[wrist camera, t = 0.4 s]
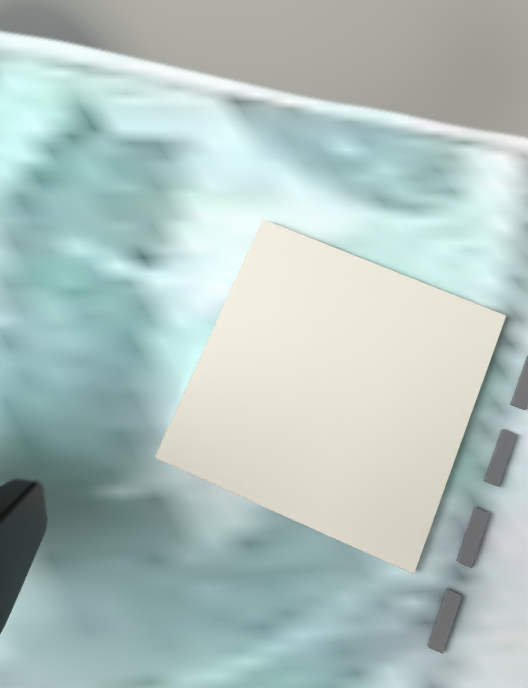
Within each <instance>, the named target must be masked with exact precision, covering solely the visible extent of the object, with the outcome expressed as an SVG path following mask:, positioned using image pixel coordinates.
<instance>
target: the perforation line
mask: <svg viewBox="0 0 528 688" xmlns="http://www.w3.org/2000/svg"><path fill="white" fill-rule="evenodd" d="M527 404H528V356H527V358H526V361H525V364H524V367H523V370H522V373H521V376H520V378H519V381H518V384H517V387H516V390H515V393H514V396H513V399H512V402H511V405H513V406H515V407H518V408H520V409H523V410H526V407H527ZM516 436H517V435H516V434H514V433H511V432H509V431H506V430H504V429H502V431H501V433H500V436H499V439H498V442H497V445H496V448H495V451H494V454H493V457H492V460H491V462H490V465H489V468H488V471H487V474H486V477H485V480H484V481H486V482H488V483H491V484H493V485H495V486H498V487H499V486H500V484H501V481H502V478H503V475H504V472H505V469H506V466H507V463H508V460H509V457H510V454H511V451H512V448H513V445H514V442H515V439H516ZM489 516H490V513H488V512H486V511H483V510H481V509H479V508H476V507H475V509H474V512H473V515H472V517H471V520H470V523H469V526H468V529H467V532H466V535H465V538H464V541H463V544H462V546H461V549H460V552H459V555H458V558H457V562H459V563H461V564H464V565H466V566H468V567H470V568H472V566H473V563H474V560H475V557H476V554H477V551H478V548H479V545H480V542H481V539H482V536H483V534H484V531H485V528H486V525H487V522H488V519H489ZM461 598H462V596H461V595H460V594H458V593H456V592H453V591H451V590H449V589H447V590H446V593H445V596H444V599H443V601H442V604H441V607H440V610H439V613H438V616H437V619H436V622H435V625H434V628H433V630H432V633H431V636H430V639H429V642H428V645H427V646H428V647H429V648H431V649H433V650H436V651H438V652H440V653H442V654H443V651H444V648H445V645H446V642H447V640H448V637H449V634H450V631H451V628H452V625H453V622H454V619H455V616H456V613H457V610H458V607H459V604H460V601H461Z"/></svg>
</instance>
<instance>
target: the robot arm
mask: <svg viewBox="0 0 528 688" xmlns="http://www.w3.org/2000/svg"><path fill="white" fill-rule="evenodd" d="M46 527H47V510H46V502H45V494H44V487H43V484H42V483H41V482H40V481H38V480H33V479H25V478H15V479H12V480H10V481H8V482H6V483H5V484H3V485H1V486H0V634H1V632H2V630H3V628H4V626H5V624H6V622H7V620H8V618H9V615H10V613H11V611H12V609H13V606H14V604H15V602H16V599H17V597H18V595H19V592H20V590H21V588H22V585H23V583H24V581H25V578H26V576H27V574H28V571H29V569H30V567H31V564H32V562H33V560H34V557H35V555H36V553H37V550H38V548H39V546H40V543H41V541H42V539H43V536H44V534H45V531H46Z"/></svg>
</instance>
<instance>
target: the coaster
mask: <svg viewBox="0 0 528 688" xmlns="http://www.w3.org/2000/svg"><path fill="white" fill-rule="evenodd" d="M505 318H506V315H503V314H501V313H498V312H496V311H493V310H491V309H488V308H486V307H483V306H481V305H478V304H475V303H473V302H470V301H468V300H465V299H463V298H460V297H458V296H455V295H453V294H450V293H448V292H445V291H443V290H440V289H438V288H435V287H433V286H430V285H428V284H425V283H423V282H420V281H417V280H415V279H412V278H410V277H407V276H405V275H402V274H400V273H397V272H395V271H392V270H390V269H387V268H385V267H382V266H380V265H377V264H375V263H372V262H370V261H367V260H365V259H362V258H360V257H357V256H354V255H352V254H349V253H347V252H344V251H342V250H339V249H337V248H334V247H332V246H329V245H327V244H324V243H322V242H319V241H317V240H314V239H312V238H309V237H307V236H304V235H302V234H299V233H296V232H294V231H291V230H289V229H286V228H284V227H281V226H279V225H276V224H274V223H271V222H269V221H266V220H264V219H263V220H262V223H261V225H260V227H259V229H258V231H257V234H256V236H255V238H254V240H253V242H252V245H251V247H250V249H249V251H248V253H247V256H246V258H245V260H244V262H243V264H242V267H241V269H240V271H239V273H238V275H237V278H236V280H235V282H234V284H233V286H232V289H231V291H230V293H229V295H228V297H227V300H226V302H225V304H224V306H223V308H222V311H221V313H220V315H219V317H218V319H217V322H216V324H215V326H214V328H213V330H212V333H211V335H210V337H209V339H208V341H207V344H206V346H205V348H204V350H203V352H202V355H201V357H200V359H199V361H198V363H197V366H196V368H195V370H194V372H193V374H192V377H191V379H190V381H189V383H188V385H187V388H186V390H185V392H184V394H183V396H182V399H181V401H180V403H179V405H178V407H177V410H176V412H175V414H174V416H173V418H172V421H171V423H170V425H169V427H168V430H167V432H166V434H165V436H164V438H163V441H162V443H161V445H160V447H159V449H158V452H157V454H156V456H155V458H156V459H159V460H161V461H163V462H165V463H168V464H170V465H172V466H174V467H176V468H179V469H181V470H183V471H185V472H188V473H190V474H192V475H194V476H197V477H199V478H201V479H203V480H205V481H208V482H210V483H212V484H214V485H217V486H219V487H221V488H223V489H225V490H228V491H230V492H232V493H234V494H237V495H239V496H241V497H243V498H246V499H248V500H250V501H252V502H254V503H257V504H259V505H261V506H263V507H266V508H268V509H270V510H272V511H275V512H277V513H279V514H281V515H283V516H286V517H288V518H290V519H292V520H295V521H297V522H299V523H301V524H303V525H306V526H308V527H310V528H312V529H315V530H317V531H319V532H321V533H324V534H326V535H328V536H330V537H332V538H335V539H337V540H339V541H341V542H344V543H346V544H348V545H350V546H352V547H355V548H357V549H359V550H361V551H364V552H366V553H368V554H370V555H373V556H375V557H377V558H379V559H381V560H384V561H386V562H388V563H390V564H393V565H395V566H397V567H399V568H402V569H404V570H406V571H408V572H410V573H413V574H414V573H415V570H416V567H417V564H418V561H419V559H420V556H421V553H422V550H423V547H424V545H425V542H426V539H427V536H428V533H429V531H430V528H431V525H432V522H433V519H434V517H435V514H436V511H437V508H438V505H439V503H440V500H441V497H442V494H443V491H444V489H445V486H446V483H447V480H448V477H449V475H450V472H451V469H452V466H453V463H454V461H455V458H456V455H457V452H458V449H459V447H460V444H461V441H462V438H463V435H464V433H465V430H466V427H467V424H468V421H469V419H470V416H471V413H472V410H473V407H474V405H475V402H476V399H477V396H478V393H479V391H480V388H481V385H482V382H483V379H484V377H485V374H486V371H487V368H488V365H489V363H490V360H491V357H492V354H493V351H494V349H495V346H496V343H497V340H498V337H499V335H500V332H501V329H502V326H503V323H504V321H505Z"/></svg>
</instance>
